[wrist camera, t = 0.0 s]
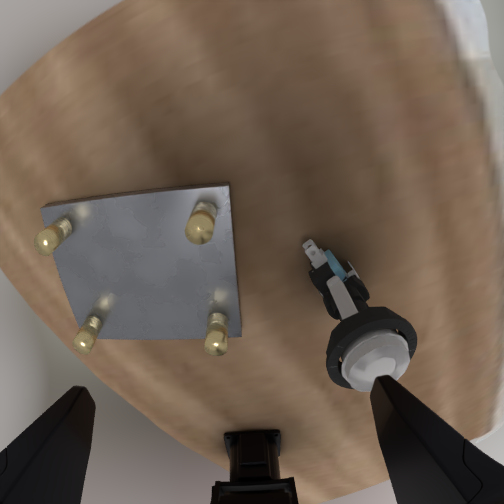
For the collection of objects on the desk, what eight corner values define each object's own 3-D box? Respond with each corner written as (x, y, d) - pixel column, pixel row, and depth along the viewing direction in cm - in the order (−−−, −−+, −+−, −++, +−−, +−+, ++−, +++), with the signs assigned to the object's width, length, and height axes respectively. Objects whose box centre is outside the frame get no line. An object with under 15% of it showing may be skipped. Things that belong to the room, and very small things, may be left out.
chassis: (241, 328, 26) (242, 363, 22) (87, 331, 26) (71, 361, 22) (229, 182, 21) (226, 199, 17) (46, 204, 21) (18, 223, 17)
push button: (275, 259, 23) (297, 359, 14) (336, 215, 22) (395, 295, 13) (324, 315, 26) (357, 412, 17) (378, 278, 24) (434, 365, 15)
